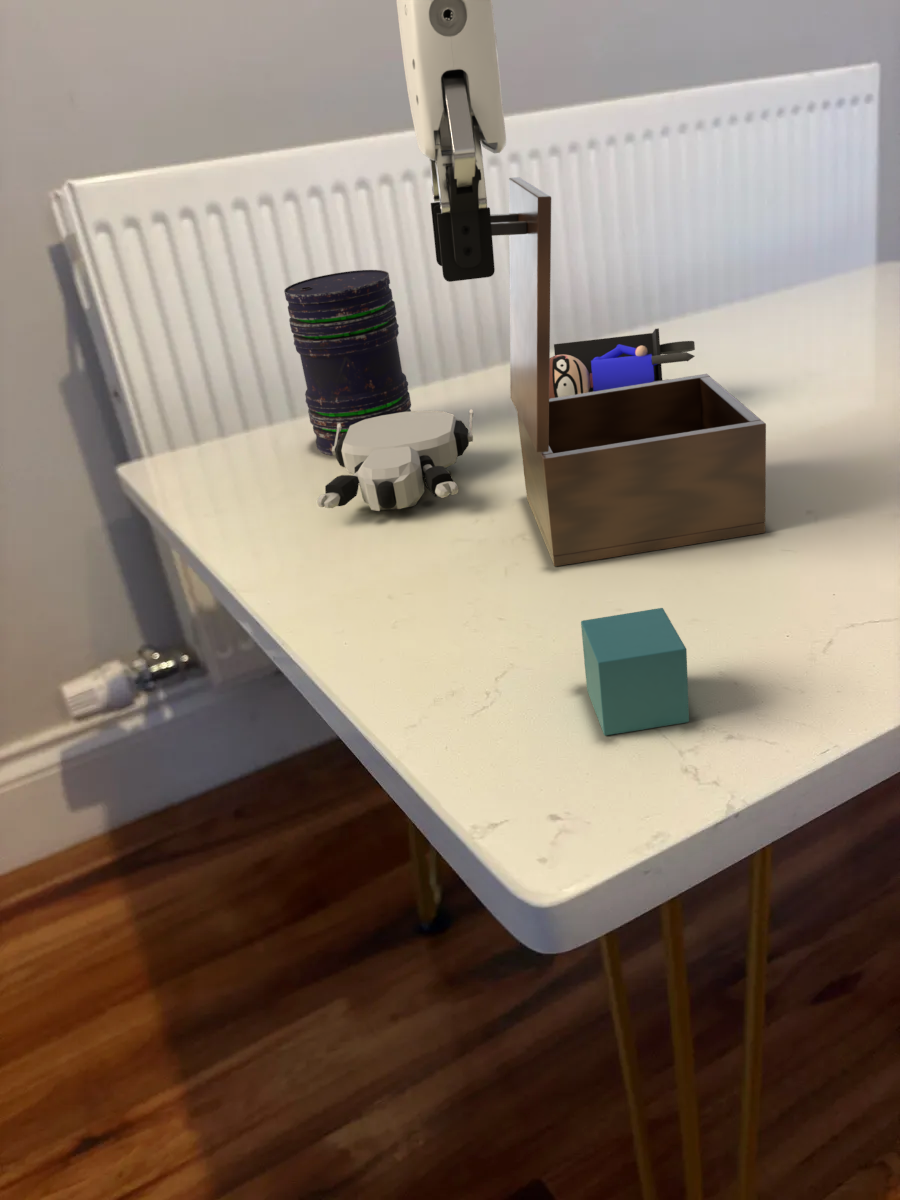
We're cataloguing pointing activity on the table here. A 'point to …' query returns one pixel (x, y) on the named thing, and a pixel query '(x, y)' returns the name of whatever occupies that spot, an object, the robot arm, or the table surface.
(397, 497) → the robot toy
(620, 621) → the cube
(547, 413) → the lid
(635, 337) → the character figurine
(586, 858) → the table surface
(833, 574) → the table surface
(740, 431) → the box
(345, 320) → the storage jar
